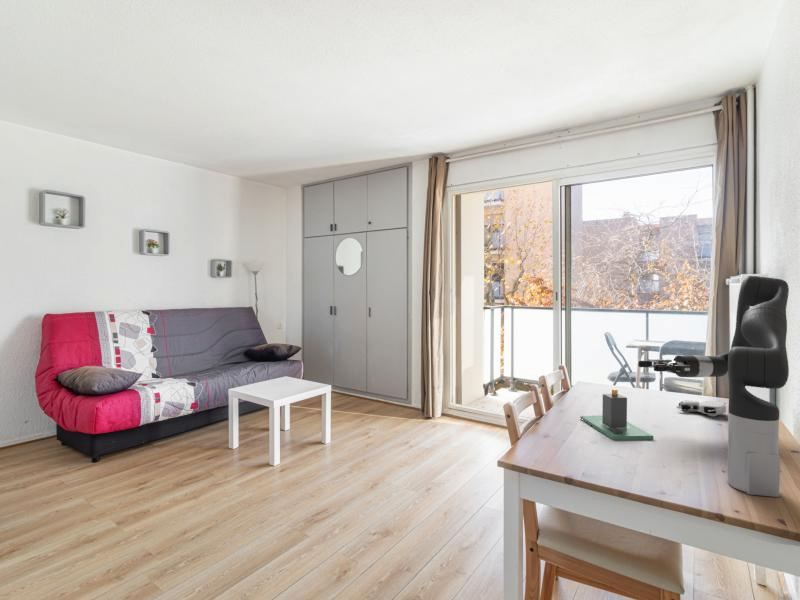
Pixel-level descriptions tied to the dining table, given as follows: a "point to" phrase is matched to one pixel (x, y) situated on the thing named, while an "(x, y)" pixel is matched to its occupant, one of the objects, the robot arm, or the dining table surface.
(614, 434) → the header board
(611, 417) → the block
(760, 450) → the robot arm
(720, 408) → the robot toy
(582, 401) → the dining table surface
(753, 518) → the dining table surface
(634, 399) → the dining table surface
